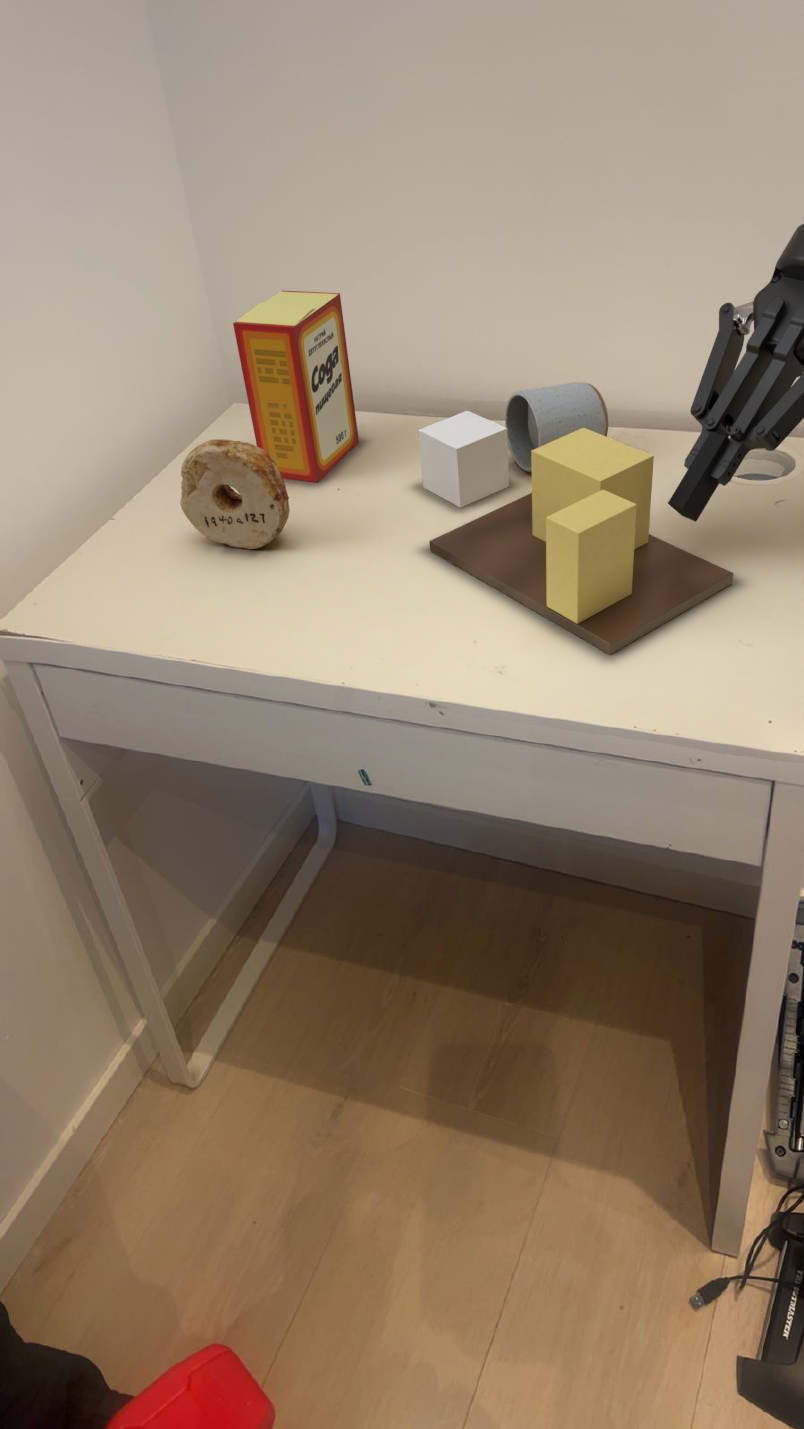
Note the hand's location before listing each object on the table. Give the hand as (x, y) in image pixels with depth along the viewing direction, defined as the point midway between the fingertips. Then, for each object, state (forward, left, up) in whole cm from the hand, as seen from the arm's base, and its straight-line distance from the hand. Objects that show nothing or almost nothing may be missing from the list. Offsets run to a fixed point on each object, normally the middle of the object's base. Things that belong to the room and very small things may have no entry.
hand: (682, 512), depth 84 cm
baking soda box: (+41, +10, -5) cm, 42 cm away
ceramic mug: (+23, -7, -5) cm, 24 cm away
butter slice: (0, +10, -4) cm, 11 cm away
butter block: (+7, +4, -4) cm, 9 cm away
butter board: (+6, +6, -5) cm, 10 cm away
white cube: (+24, +3, -5) cm, 25 cm away
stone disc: (+31, +24, -5) cm, 40 cm away
